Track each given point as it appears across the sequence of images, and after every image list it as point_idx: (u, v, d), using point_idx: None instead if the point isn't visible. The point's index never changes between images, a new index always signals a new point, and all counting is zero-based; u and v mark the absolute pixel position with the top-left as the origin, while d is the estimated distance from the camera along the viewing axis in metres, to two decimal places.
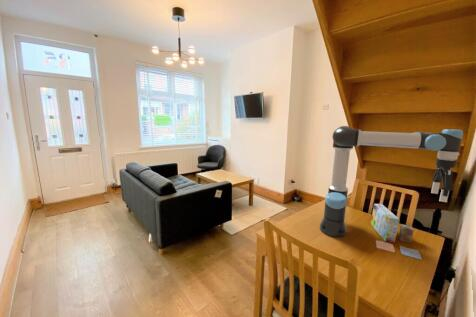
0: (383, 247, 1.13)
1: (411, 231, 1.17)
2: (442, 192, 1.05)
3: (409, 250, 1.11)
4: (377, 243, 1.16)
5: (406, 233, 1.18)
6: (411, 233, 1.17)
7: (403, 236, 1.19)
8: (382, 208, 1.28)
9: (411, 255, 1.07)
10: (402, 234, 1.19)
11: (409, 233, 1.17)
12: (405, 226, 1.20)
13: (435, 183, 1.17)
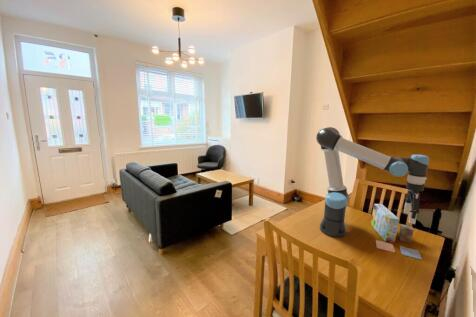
0: (383, 247, 1.13)
1: (411, 231, 1.17)
2: (411, 214, 1.12)
3: (409, 250, 1.11)
4: (377, 243, 1.16)
5: (406, 233, 1.18)
6: (411, 233, 1.17)
7: (403, 236, 1.19)
8: (382, 208, 1.28)
9: (411, 255, 1.07)
10: (402, 234, 1.19)
11: (409, 233, 1.17)
12: (405, 226, 1.20)
13: (407, 204, 1.23)
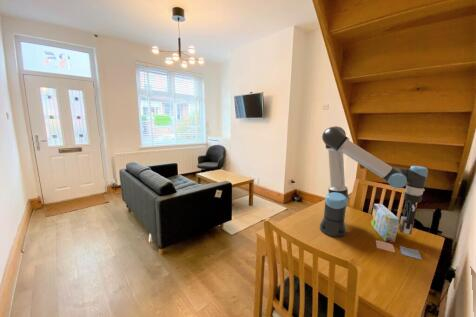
0: (383, 247, 1.13)
1: None
2: (405, 225, 1.17)
3: (409, 250, 1.11)
4: (377, 243, 1.16)
5: None
6: None
7: (403, 227, 1.18)
8: (382, 208, 1.28)
9: (411, 255, 1.07)
10: (402, 226, 1.18)
11: None
12: (405, 218, 1.19)
13: None
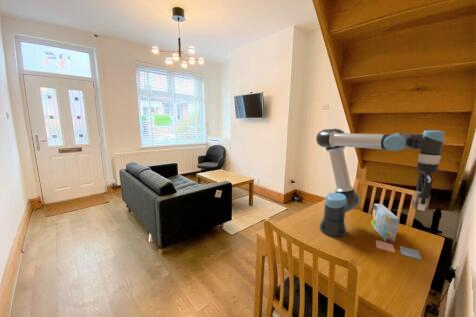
0: (383, 247, 1.13)
1: None
2: (420, 200, 1.01)
3: (409, 250, 1.11)
4: (377, 243, 1.16)
5: None
6: (428, 199, 1.00)
7: (417, 203, 1.02)
8: (382, 208, 1.28)
9: (411, 255, 1.07)
10: (416, 201, 1.02)
11: None
12: (420, 192, 1.03)
13: None
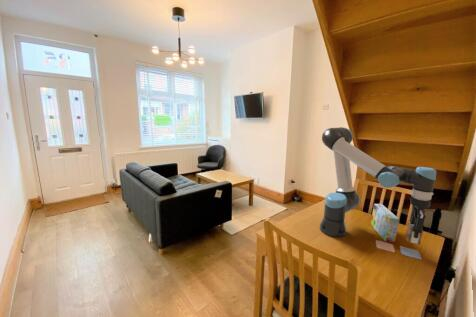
0: (383, 247, 1.13)
1: None
2: (413, 233, 1.04)
3: (409, 250, 1.11)
4: (377, 243, 1.16)
5: None
6: (420, 233, 1.03)
7: None
8: (382, 208, 1.28)
9: (411, 255, 1.07)
10: (410, 234, 1.06)
11: None
12: (413, 225, 1.06)
13: None
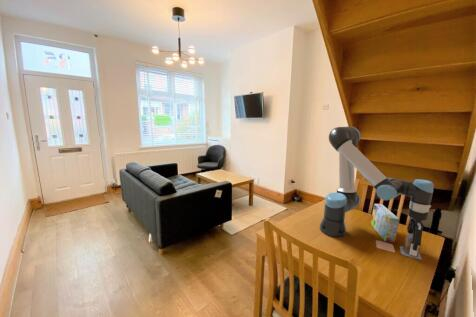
0: (383, 247, 1.13)
1: None
2: (412, 246, 1.04)
3: None
4: (377, 243, 1.16)
5: None
6: None
7: (408, 248, 1.07)
8: (382, 208, 1.28)
9: (411, 255, 1.07)
10: (407, 246, 1.07)
11: None
12: (411, 237, 1.08)
13: (409, 235, 1.12)
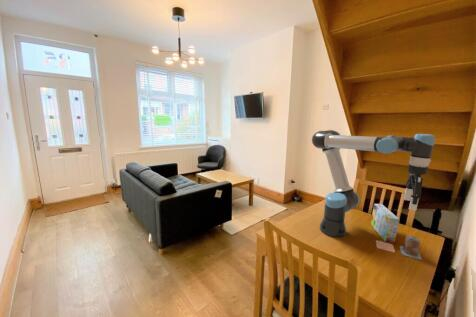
0: (383, 247, 1.13)
1: (418, 243, 1.05)
2: (412, 200, 1.01)
3: None
4: (377, 243, 1.16)
5: (412, 245, 1.06)
6: (418, 245, 1.05)
7: (408, 248, 1.07)
8: (382, 208, 1.28)
9: (411, 255, 1.07)
10: (407, 246, 1.07)
11: (415, 245, 1.05)
12: (411, 237, 1.08)
13: (408, 190, 1.12)
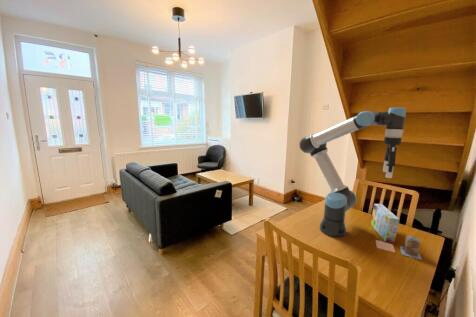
0: (383, 247, 1.13)
1: (418, 243, 1.05)
2: (387, 168, 1.09)
3: None
4: (377, 243, 1.16)
5: (412, 245, 1.06)
6: (418, 245, 1.05)
7: (408, 248, 1.07)
8: (382, 208, 1.28)
9: (411, 255, 1.07)
10: (407, 246, 1.07)
11: (415, 245, 1.05)
12: (411, 237, 1.08)
13: (386, 162, 1.20)
